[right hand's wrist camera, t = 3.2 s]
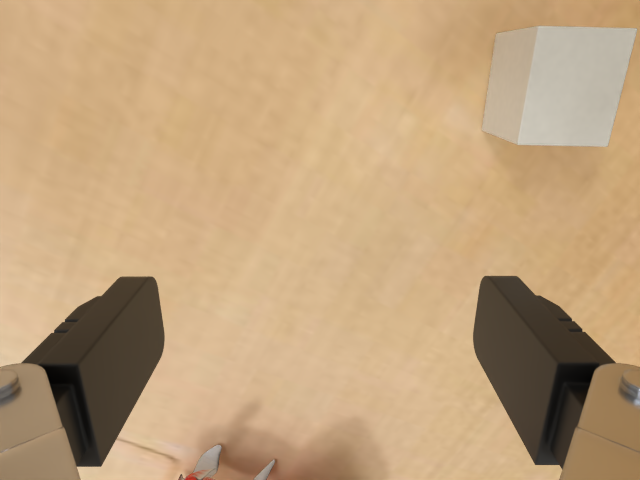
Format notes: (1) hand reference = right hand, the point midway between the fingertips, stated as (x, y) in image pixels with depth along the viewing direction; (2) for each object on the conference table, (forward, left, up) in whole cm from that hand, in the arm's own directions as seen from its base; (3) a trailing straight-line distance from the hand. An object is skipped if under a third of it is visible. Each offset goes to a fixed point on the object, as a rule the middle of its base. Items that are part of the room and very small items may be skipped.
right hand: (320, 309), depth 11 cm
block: (-6, +11, -16) cm, 20 cm away
